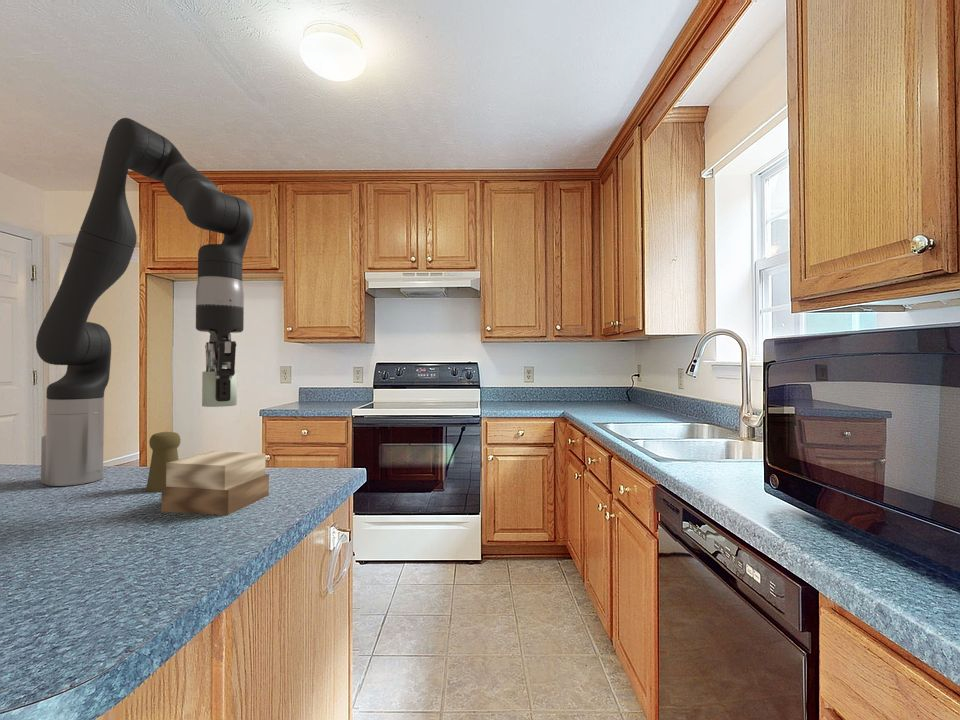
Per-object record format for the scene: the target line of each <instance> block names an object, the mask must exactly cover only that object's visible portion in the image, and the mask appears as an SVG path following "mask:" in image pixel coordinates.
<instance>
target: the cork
mask: <svg viewBox="0 0 960 720" xmlns="http://www.w3.org/2000/svg"><path fill="white" fill-rule="evenodd" d="M180 445H181V436H180V434H179V433H178V432H174V431H162V432H157V433H154V434H152V435H151V436H150V438H149V447H150V449H151V450H152V453H151V459H150V465H149V471H148V477H147V484H146V488H145V489H146V492H149V493H162V487H165V486H166V463H168V462H172V461H176V460H180V459H179V454H178V448H179V446H180Z"/></svg>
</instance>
